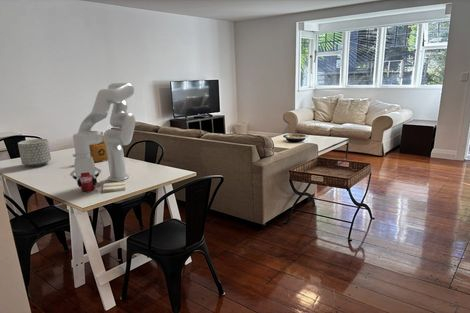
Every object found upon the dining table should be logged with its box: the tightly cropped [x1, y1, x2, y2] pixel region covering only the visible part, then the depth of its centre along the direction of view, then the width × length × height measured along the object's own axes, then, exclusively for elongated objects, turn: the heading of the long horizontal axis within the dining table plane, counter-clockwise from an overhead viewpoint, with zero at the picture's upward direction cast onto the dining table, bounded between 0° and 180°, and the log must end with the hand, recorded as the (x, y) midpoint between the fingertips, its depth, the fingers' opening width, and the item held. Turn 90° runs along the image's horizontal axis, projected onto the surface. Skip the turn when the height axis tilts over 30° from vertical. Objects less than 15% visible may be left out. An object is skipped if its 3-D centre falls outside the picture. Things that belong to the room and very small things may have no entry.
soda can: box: [79, 172, 96, 194], centre depth 186 cm, size 7×7×12 cm
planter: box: [17, 138, 52, 168], centre depth 243 cm, size 19×19×18 cm
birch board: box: [102, 180, 126, 194], centre depth 191 cm, size 12×12×2 cm
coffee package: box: [89, 131, 108, 163], centre depth 250 cm, size 10×12×22 cm
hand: (87, 185), depth 186 cm, fingers closed on soda can, 7 cm apart
